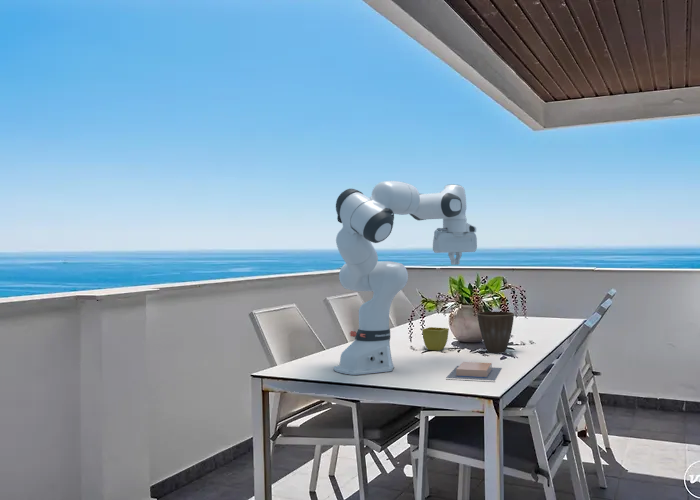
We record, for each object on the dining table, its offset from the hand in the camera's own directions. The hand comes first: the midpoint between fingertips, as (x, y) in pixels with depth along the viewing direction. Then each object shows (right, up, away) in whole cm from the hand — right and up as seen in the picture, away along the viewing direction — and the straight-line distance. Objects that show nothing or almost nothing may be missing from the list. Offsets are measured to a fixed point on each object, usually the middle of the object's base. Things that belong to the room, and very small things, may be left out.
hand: (455, 264), depth 245 cm
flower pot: (-3, -37, +31) cm, 48 cm away
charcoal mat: (+3, -37, -22) cm, 44 cm away
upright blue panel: (+5, -35, -17) cm, 39 cm away
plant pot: (+21, -37, +23) cm, 48 cm away
